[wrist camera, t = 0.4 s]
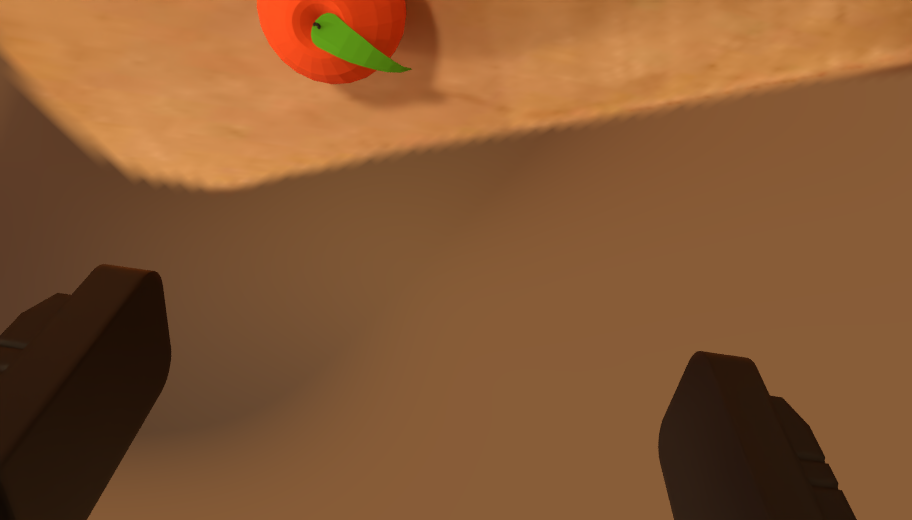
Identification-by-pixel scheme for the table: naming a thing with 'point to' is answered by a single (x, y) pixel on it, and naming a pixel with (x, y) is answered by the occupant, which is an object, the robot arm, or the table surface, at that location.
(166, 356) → the robot arm
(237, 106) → the table surface
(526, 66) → the table surface
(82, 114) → the table surface
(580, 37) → the table surface
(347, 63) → the clementine
